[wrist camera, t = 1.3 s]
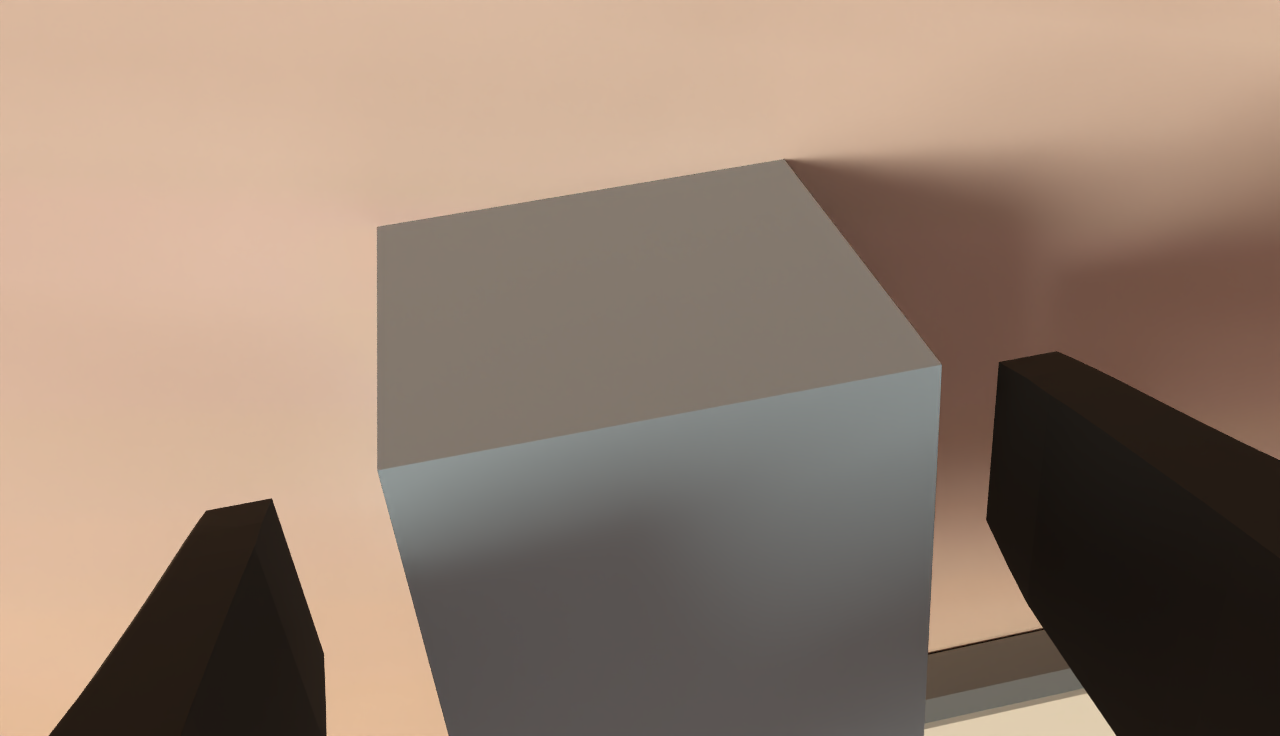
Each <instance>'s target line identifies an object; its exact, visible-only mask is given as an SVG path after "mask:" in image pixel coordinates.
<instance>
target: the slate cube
mask: <svg viewBox="0 0 1280 736" xmlns="http://www.w3.org/2000/svg"><path fill="white" fill-rule="evenodd" d="M941 372H942V364H941V363H940V362H939V360H938V359H937V358H936V356H935V355H934V354H933V352H932V351H931V350H930V349H929V347H928V346H927V345H926V343H925V342H924V341H923V339H922V338H921V337H920V336H919V334H918V333H917V332H916V330H915V329H914V328H913V326H912V325H911V324H910V322H909V321H908V320H907V319H906V317H905V316H904V315H903V313H902V312H901V311H900V309H899V308H898V307H897V306H896V304H895V303H894V302H893V300H892V299H891V298H890V296H889V295H888V294H887V293H886V291H885V290H884V289H883V287H882V286H881V285H880V283H879V282H878V281H877V280H876V278H875V277H874V276H873V274H872V273H871V272H870V270H869V269H868V268H867V267H866V265H865V264H864V263H863V261H862V260H861V259H860V257H859V256H858V255H857V253H856V252H855V251H854V250H853V248H852V247H851V246H850V244H849V243H848V242H847V240H846V239H845V238H844V237H843V235H842V234H841V233H840V231H839V230H838V229H837V227H836V226H835V225H834V224H833V222H832V221H831V220H830V218H829V217H828V216H827V214H826V213H825V212H824V211H823V209H822V208H821V207H820V205H819V204H818V203H817V201H816V200H815V199H814V198H813V196H812V195H811V194H810V192H809V191H808V190H807V188H806V187H805V186H804V184H803V183H802V182H801V181H800V179H799V178H798V177H797V175H796V174H795V173H794V171H793V170H792V169H791V168H790V166H789V165H788V164H787V162H786V161H785V160H784V159H783V160H777V161H771V162H765V163H759V164H753V165H747V166H741V167H735V168H729V169H723V170H717V171H711V172H705V173H699V174H693V175H687V176H681V177H675V178H669V179H663V180H657V181H651V182H645V183H639V184H633V185H627V186H621V187H615V188H608V189H602V190H596V191H590V192H584V193H578V194H572V195H566V196H560V197H554V198H548V199H542V200H536V201H530V202H524V203H518V204H512V205H506V206H500V207H494V208H488V209H482V210H476V211H470V212H464V213H458V214H452V215H446V216H440V217H434V218H428V219H422V220H416V221H410V222H404V223H398V224H392V225H386V226H380V227H377V471H378V474H379V478H380V482H381V486H382V489H383V493H384V497H385V500H386V504H387V508H388V512H389V515H390V519H391V523H392V526H393V530H394V534H395V538H396V541H397V545H398V549H399V552H400V556H401V560H402V564H403V567H404V571H405V575H406V578H407V582H408V586H409V590H410V593H411V597H412V601H413V604H414V608H415V612H416V616H417V619H418V623H419V627H420V630H421V634H422V638H423V642H424V645H425V649H426V653H427V657H428V660H429V664H430V668H431V671H432V675H433V679H434V683H435V686H436V690H437V694H438V697H439V701H440V705H441V709H442V712H443V716H444V720H445V723H446V727H447V731H448V735H449V736H924V724H925V703H926V683H927V662H928V641H929V620H930V600H931V579H932V558H933V538H934V517H935V496H936V476H937V455H938V434H939V414H940V393H941Z"/></svg>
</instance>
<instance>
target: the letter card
mask: <svg viewBox="0 0 1280 736" xmlns="http://www.w3.org/2000/svg"><path fill="white" fill-rule="evenodd" d="M924 736H1116V735H1115V733H1114V732H1113V730H1112V729H1111V727H1110V726H1109V725H1108V723H1107V722H1106V720H1105V719H1104V717H1103V716H1102V714H1101V713H1100V711H1099V710H1098V708H1097V707H1096V705H1095V704H1094V703H1093V701H1092V700H1091V698H1090V697H1089V695H1088V694H1087V692H1086V691H1085V689H1084V688H1083V686H1082V685H1081V683H1080V682H1079V681H1078V679H1077V678H1076V676H1075V675H1074V673H1073V672H1072V670H1071V669H1070V667H1069V666H1068V664H1067V663H1066V661H1065V660H1064V658H1063V657H1062V655H1061V654H1060V652H1059V651H1058V649H1057V648H1056V646H1055V645H1054V643H1053V642H1052V640H1051V639H1050V637H1049V636H1048V634H1047V633H1046V631H1045V630H1041V631H1036V632H1032V633H1027V634H1022V635H1018V636H1013V637H1008V638H1004V639H999V640H994V641H990V642H985V643H980V644H976V645H971V646H966V647H962V648H957V649H952V650H948V651H943V652H938V653H934V654H929V655H928V662H927V683H926V703H925V724H924Z"/></svg>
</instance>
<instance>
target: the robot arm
mask: <svg viewBox="0 0 1280 736" xmlns="http://www.w3.org/2000/svg"><path fill="white" fill-rule="evenodd" d="M986 520H987V523H988V525H989V527H990V529H991V531H992V533H993V535H994V537H995V540H996V542H997V544H998V546H999V548H1000V550H1001V552H1002V554H1003V557H1004V559H1005V561H1006V563H1007V565H1008V567H1009V569H1010V571H1011V573H1012V575H1013V577H1014V579H1015V581H1016V583H1017V585H1018V587H1019V589H1020V591H1021V592H1022V594H1023V596H1024V598H1025V600H1026V602H1027V604H1028V605H1029V607H1030V609H1031V610H1032V612H1033V613H1034V615H1035V616H1036V618H1037V619H1038V621H1039V622H1040V624H1041V625H1042V627H1043V628H1044V630H1045V631H1046V633H1047V634H1048V636H1049V637H1050V639H1051V640H1052V642H1053V643H1054V645H1055V646H1056V648H1057V649H1058V651H1059V652H1060V654H1061V655H1062V657H1063V658H1064V660H1065V661H1066V663H1067V664H1068V666H1069V667H1070V669H1071V670H1072V672H1073V673H1074V675H1075V676H1076V678H1077V679H1078V681H1079V682H1080V683H1081V685H1082V686H1083V688H1084V689H1085V691H1086V692H1087V694H1088V695H1089V697H1090V698H1091V700H1092V701H1093V703H1094V704H1095V705H1096V707H1097V708H1098V710H1099V711H1100V713H1101V714H1102V716H1103V717H1104V719H1105V720H1106V722H1107V723H1108V725H1109V726H1110V727H1111V729H1112V730H1113V732H1114V733H1115V735H1116V736H1280V460H1278V459H1276V458H1274V457H1272V456H1270V455H1267V454H1265V453H1263V452H1261V451H1259V450H1257V449H1255V448H1253V447H1251V446H1248V445H1246V444H1244V443H1242V442H1240V441H1238V440H1236V439H1234V438H1232V437H1230V436H1228V435H1226V434H1224V433H1222V432H1220V431H1218V430H1216V429H1214V428H1212V427H1210V426H1208V425H1206V424H1204V423H1202V422H1200V421H1198V420H1196V419H1194V418H1192V417H1190V416H1188V415H1186V414H1184V413H1182V412H1180V411H1178V410H1176V409H1174V408H1172V407H1170V406H1168V405H1166V404H1164V403H1162V402H1160V401H1158V400H1156V399H1154V398H1152V397H1150V396H1148V395H1146V394H1144V393H1142V392H1140V391H1139V390H1137V389H1135V388H1133V387H1131V386H1129V385H1127V384H1125V383H1123V382H1121V381H1119V380H1117V379H1115V378H1113V377H1111V376H1109V375H1107V374H1105V373H1103V372H1101V371H1099V370H1097V369H1095V368H1093V367H1090V366H1088V365H1086V364H1084V363H1082V362H1080V361H1078V360H1075V359H1073V358H1071V357H1069V356H1066V355H1064V354H1062V353H1059V352H1057V351H1056V352H1051V353H1046V354H1040V355H1035V356H1030V357H1024V358H1019V359H1014V360H1008V361H1003V362H999V368H998V381H997V393H996V405H995V418H994V430H993V443H992V455H991V467H990V480H989V492H988V505H987V517H986ZM49 736H326V697H325V671H324V653H323V650H322V647H321V644H320V641H319V638H318V635H317V632H316V629H315V626H314V623H313V620H312V617H311V614H310V611H309V608H308V605H307V602H306V599H305V596H304V593H303V590H302V587H301V584H300V581H299V578H298V575H297V572H296V569H295V566H294V563H293V560H292V557H291V554H290V551H289V548H288V545H287V542H286V539H285V536H284V533H283V530H282V527H281V524H280V521H279V518H278V515H277V512H276V509H275V506H274V503H273V501H272V499H266V500H261V501H256V502H250V503H245V504H240V505H234V506H229V507H224V508H218V509H213V510H208V511H206V512H205V513H204V514H203V516H202V517H201V518H200V520H199V521H198V522H197V524H196V525H195V527H194V528H193V530H192V531H191V533H190V534H189V536H188V537H187V539H186V540H185V542H184V543H183V545H182V546H181V548H180V549H179V551H178V553H177V554H176V556H175V557H174V559H173V560H172V562H171V563H170V565H169V566H168V568H167V569H166V571H165V573H164V574H163V576H162V577H161V579H160V580H159V582H158V583H157V585H156V586H155V588H154V589H153V591H152V592H151V594H150V595H149V597H148V598H147V600H146V601H145V603H144V604H143V606H142V607H141V609H140V610H139V612H138V613H137V615H136V616H135V618H134V619H133V621H132V622H131V624H130V625H129V627H128V628H127V629H126V631H125V632H124V634H123V635H122V637H121V638H120V640H119V641H118V642H117V644H116V645H115V647H114V648H113V650H112V651H111V652H110V654H109V655H108V657H107V658H106V660H105V661H104V662H103V664H102V665H101V667H100V668H99V670H98V671H97V672H96V674H95V675H94V677H93V678H92V680H91V681H90V682H89V684H88V685H87V686H86V688H85V689H84V691H83V692H82V693H81V695H80V696H79V697H78V699H77V700H76V701H75V702H74V704H73V705H72V706H71V708H70V709H69V710H68V711H67V713H66V714H65V715H64V717H63V718H62V719H61V721H60V722H59V723H58V724H57V726H56V727H55V728H54V730H53V731H52V732H51V733H50V735H49Z"/></svg>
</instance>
